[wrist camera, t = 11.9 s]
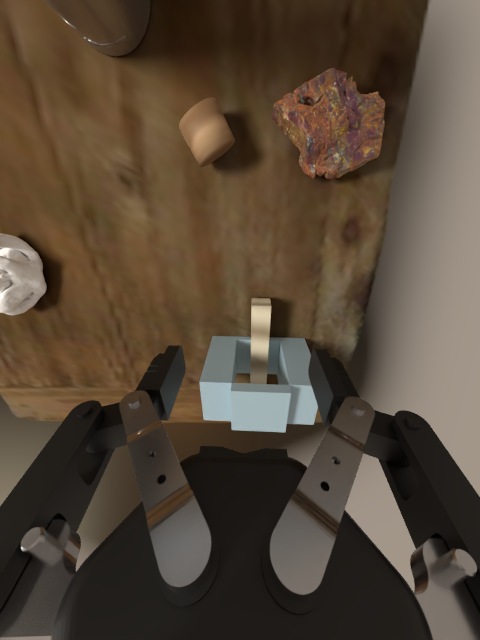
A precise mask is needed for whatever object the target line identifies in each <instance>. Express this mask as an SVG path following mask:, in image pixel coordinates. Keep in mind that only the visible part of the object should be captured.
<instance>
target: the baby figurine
mask: <svg viewBox="0 0 480 640" xmlns="http://www.w3.org/2000/svg"><path fill="white" fill-rule="evenodd" d="M0 249H1V250H0V313H5V314H8V315H17V314H21V313H24V312H26V311H27V310H28V309H29V308H31V307H33V306H34V305H35V304H36V303H37V301H38V300H39V299H40V298H41V297H42V296H43V295H44V294H45V292H46V289H47V287H46V283H45V279H44V276H43V272H42V270H43V264H42V260H41V258H40V257H39V254H38V253H37V252H36V251H34V250H33V248H32V247H31V246H29V245H28V244H27V243H26V242H25V241H23V240H21V239H20V238H18V237H15V236H12V235H7V234H0Z"/></svg>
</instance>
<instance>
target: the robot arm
mask: <svg viewBox="0 0 480 640" xmlns="http://www.w3.org/2000/svg"><path fill="white" fill-rule="evenodd" d="M44 1H45V2H46V3H47V4H48V5H49V6H50V7H51V8H52V9H53V10H55V11H56V12H57V13H58V14H59V15H60V16H61V17H62V18H63V19H64V20H65V21H66V22H67V23H68V24H69V25H70V26H71V27H72V28H73V29H74V30H75V31H76V32H77V33H78V34H79V35H80V36H81V37H83V38H84V39H85V40H86V41H87V42H88V43H89V44H90V45H91V46H92V47H94V48H95V49H96V50H98V51H99V52H102V53H104V54H106V55H110V56H121V55H126V54H128V53H129V52H131V51H133V50H134V49H135V48H136V47H137V46H138V45H139V43H140V42H141V40H142V38H143V36H144V35H145V32H146V29H147V26H148V22H149V16H150V0H44ZM184 374H185V360H184V355H183V349H182V346H171V345H169V346H168V347H167V349H166V351H165V353H164V354H161V353H160V354H159V355H157V356H156V357H155V358H154V359H153V360H152V362H151V364H150V367H148V369H147V372H146V373H145V374H144V376H143V378H142V380H141V381H140V383H139V385H138V387H137V388H136V390H135V391H134V392H131V393H129V394H127V395H126V396H125V397H124V398H123V399H122V400H121V401H120V402H119V403H115V404H111V405H107V406H103V407H102V406H101V404H100V403H99V402H98V401H93V400H92V401H87V402H84V403H81V404H79V405H78V406H76V407H75V408H74V409H73V410H72V411H71V412H70V413H69V414H68V416H67V417H66V418H65V420H64V421H63V422H62V424H61V425H60V427H59V428H58V429H57V431H56V432H55V433H54V435H53V436H52V437H51V439H50V440H49V441H48V443H47V444H46V446H45V447H44V448H43V450H42V451H41V452H40V454H39V455H38V456H37V458H36V459H35V460H34V462H33V463H32V464H31V466H30V467H29V469H28V470H27V471H26V473H25V474H24V475H23V477H22V478H21V479H20V481H19V482H18V483H17V485H16V486H15V487H14V489H13V490H12V492H11V493H10V494H9V496H8V497H7V498H6V500H5V501H4V502H3V504H2V505H1V506H0V640H480V497H479V496H478V494H477V493H476V491H475V490H474V488H473V487H472V485H471V484H470V483H469V481H468V480H467V478H466V477H465V476H464V474H463V473H462V471H461V470H460V468H459V467H458V465H457V464H456V463H455V461H454V460H453V458H452V457H451V455H450V454H449V452H448V451H447V450H446V448H445V447H444V445H443V444H442V442H441V441H440V440H439V438H438V437H437V435H436V434H435V432H434V431H433V429H432V428H431V427H430V425H429V424H428V423H427V422H426V421H425V420H424V419H423V418H422V417H420V416H419V415H417V414H415V413H412V412H410V411H398V412H397V413H396V414H395V416H391V415H388V414H385V413H381V412H378V411H375V410H374V409H373V407H372V406H371V405H370V404H369V403H368V402H367V401H365V400H363V399H361V398H360V397H359V395H358V393H357V391H356V389H355V387H354V386H353V384H352V382H351V380H350V378H349V377H348V374H347V372H346V370H345V368H344V367H343V365H342V363H341V362H340V361H338V360H337V359H336V358H330V355H329V353H328V351H327V350H326V349H313V350H312V353H311V358H310V363H309V368H308V375H309V379H310V383H311V386H312V389H313V392H314V395H315V399H316V402H317V405H318V408H319V411H320V415H321V418H322V421H323V424H324V426H330V427H329V428H328V429H327V431H326V433H325V435H324V437H323V439H322V441H321V443H320V445H319V446H318V448H317V450H316V452H315V454H314V456H313V458H312V460H311V462H310V464H309V466H308V468H307V467H306V466H305V465H303V464H302V463H301V462H299V461H297V460H295V459H293V458H290V457H288V455H287V449H269V448H265V449H261V450H256V451H252V452H248V453H240V452H237V451H233V450H230V449H227V448H224V447H214V446H201V447H200V452H199V453H198V454H195V455H192V456H190V457H188V458H186V459H184V460H183V461H181V462H180V463H179V461H178V459H177V456H176V454H175V452H174V449H173V447H172V445H171V443H170V440H169V438H168V436H167V433H166V431H165V429H164V427H163V424H162V422H161V420H168V419H169V416H170V413H171V411H172V408H173V405H174V402H175V399H176V397H177V394H178V391H179V388H180V385H181V382H182V380H183V377H184ZM124 445H128V448H129V452H130V456H131V460H132V464H133V467H134V471H135V474H136V479H137V482H138V486H139V490H140V494H141V498H142V502H141V503H140V504H139V505H138V506H137V507H136V508H135V509H134V510H133V511H132V512H131V513H130V514H129V515H128V516H127V517H126V518H125V519H124V520H123V521H122V522H121V523H120V524H119V526H118V527H117V528H116V529H115V530H114V531H113V532H112V533H111V534H110V535H109V536H108V537H107V538H106V539H105V540H104V541H103V542H102V543H101V544H100V545H99V546H98V547H97V548H96V549H95V550H94V551H93V552H92V554H91V555H90V556H89V557H88V558H87V559H86V560H85V561H84V562H83V564H82V565H81V566H80V568H79V569H78V570H77V572H76V562H77V558H78V555H79V552H80V548H81V538H80V536H79V534H78V533H77V530H78V528H79V525H80V523H81V521H82V519H83V517H84V514H85V512H86V510H87V508H88V506H89V504H90V502H91V499H92V497H93V495H94V493H95V491H96V488H97V486H98V484H99V482H100V480H101V478H102V476H103V473H104V471H105V469H106V467H107V464H108V463H109V460H110V458H111V456H112V453H113V452H114V450H115V448H117V447H120V446H124ZM363 453H365V454H368V455H370V456H373V457H376V458H378V459H379V462H380V464H381V466H382V469H383V471H384V473H385V476H386V478H387V481H388V483H389V485H390V488H391V490H392V492H393V495H394V497H395V500H396V502H397V505H398V507H399V509H400V511H401V514H402V517H403V519H404V521H405V524H406V526H407V528H408V531H409V533H410V536H411V538H412V540H413V543H414V545H415V548H416V550H415V551H414V552H413V553H412V555H411V558H410V566H411V570H412V574H413V578H414V583H415V590H414V593H413V591H412V590H411V588H410V587H409V585H408V584H407V582H406V581H405V580H404V578H403V577H402V576H401V574H400V573H399V572H398V571H397V570H396V569H395V568H394V566H393V565H392V564H391V563H390V562H389V561H388V560H387V558H386V557H385V556H384V555H383V554H382V552H381V551H380V550H379V549H378V548H377V547H376V546H375V544H374V543H373V542H372V541H371V540H370V539H369V537H368V536H367V535H366V534H365V533H364V532H363V530H362V529H361V528H360V527H359V526H358V525H357V523H356V522H355V521H354V520H353V519H352V518H351V516H350V515H349V514H348V513H347V512H346V511H345V510H344V509H345V506H346V503H347V500H348V497H349V494H350V491H351V488H352V486H353V483H354V479H355V477H356V473H357V471H358V468H359V465H360V462H361V459H362V456H363Z"/></svg>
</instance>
